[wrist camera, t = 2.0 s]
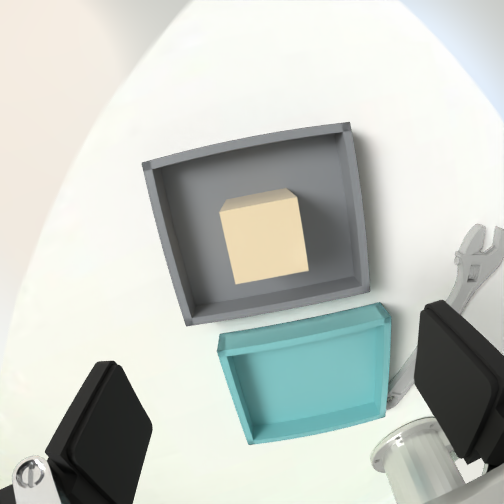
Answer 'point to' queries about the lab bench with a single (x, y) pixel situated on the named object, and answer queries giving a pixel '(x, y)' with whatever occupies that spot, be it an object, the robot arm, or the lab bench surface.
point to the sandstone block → (264, 235)
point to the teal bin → (309, 373)
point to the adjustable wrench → (457, 292)
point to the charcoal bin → (252, 182)
